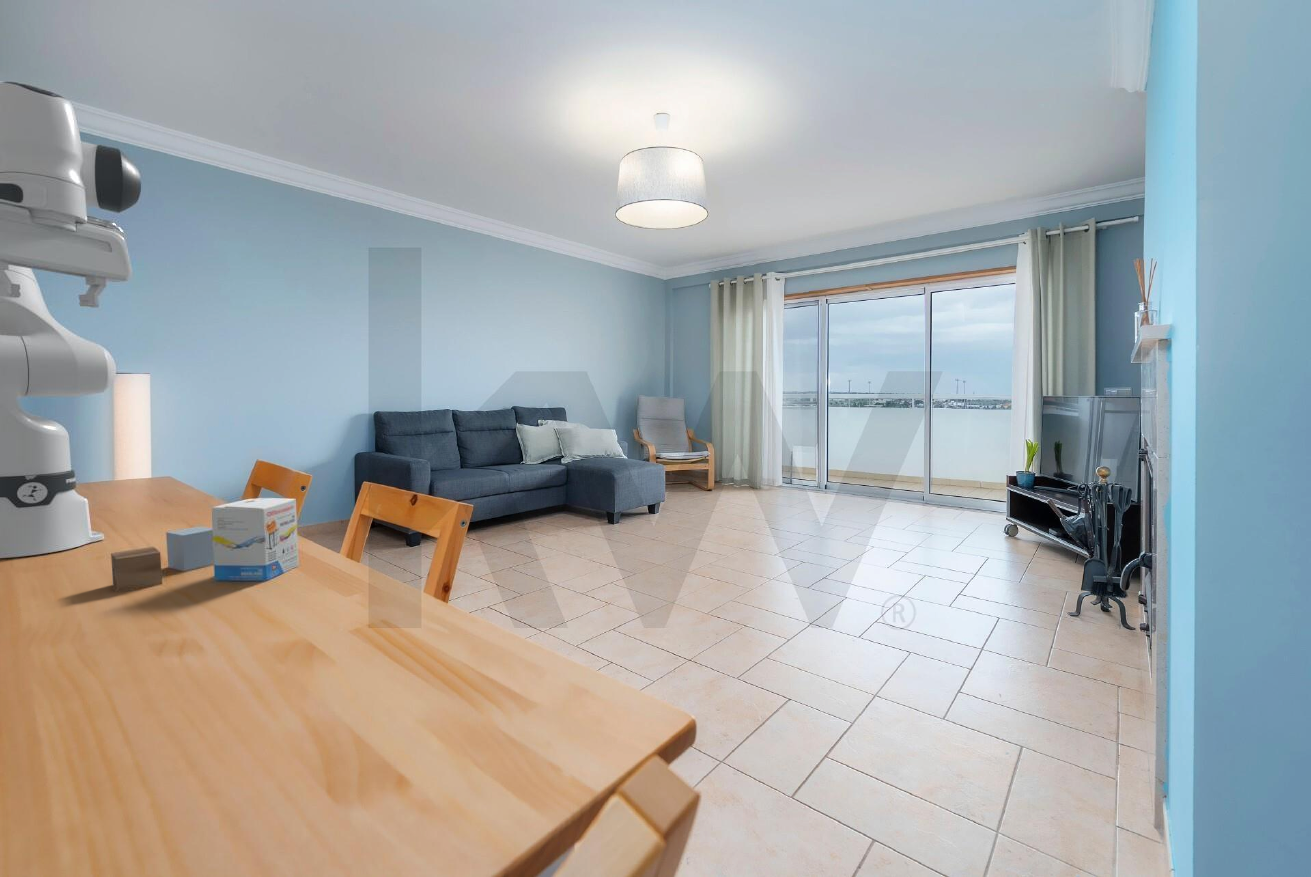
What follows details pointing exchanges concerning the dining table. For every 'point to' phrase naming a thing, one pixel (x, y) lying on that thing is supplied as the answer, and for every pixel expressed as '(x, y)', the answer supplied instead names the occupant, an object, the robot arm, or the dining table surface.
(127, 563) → the walnut block
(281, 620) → the dining table surface
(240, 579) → the ink box
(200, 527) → the slate block
